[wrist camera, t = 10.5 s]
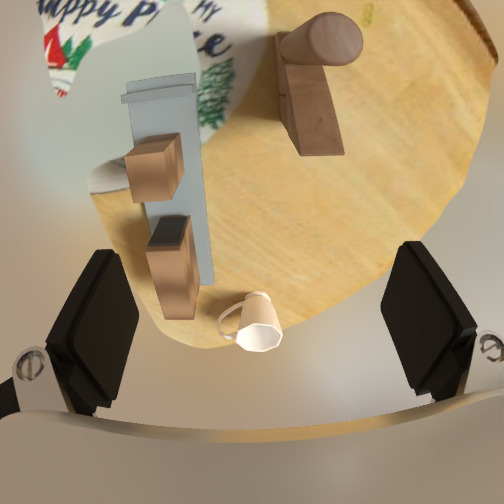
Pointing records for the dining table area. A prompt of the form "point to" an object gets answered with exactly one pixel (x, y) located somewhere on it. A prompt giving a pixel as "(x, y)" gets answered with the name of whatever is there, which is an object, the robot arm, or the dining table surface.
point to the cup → (255, 323)
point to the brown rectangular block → (155, 168)
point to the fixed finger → (174, 267)
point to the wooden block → (314, 80)
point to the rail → (187, 124)
